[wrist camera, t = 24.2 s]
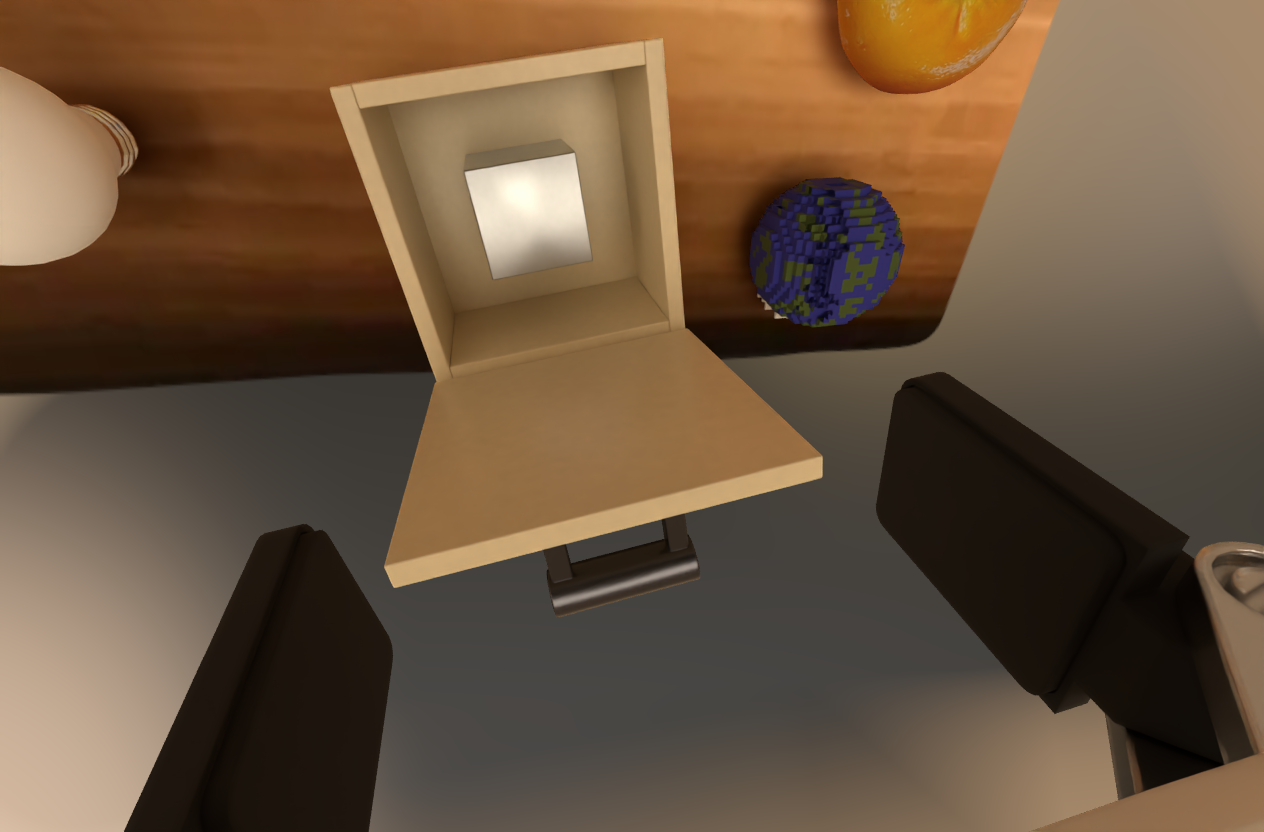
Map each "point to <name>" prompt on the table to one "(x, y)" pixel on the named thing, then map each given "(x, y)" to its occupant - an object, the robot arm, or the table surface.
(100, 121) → the light bulb
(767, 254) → the ball
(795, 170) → the table surface
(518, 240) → the steel block
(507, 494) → the wooden box lid
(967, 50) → the fruit
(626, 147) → the open storage bin
